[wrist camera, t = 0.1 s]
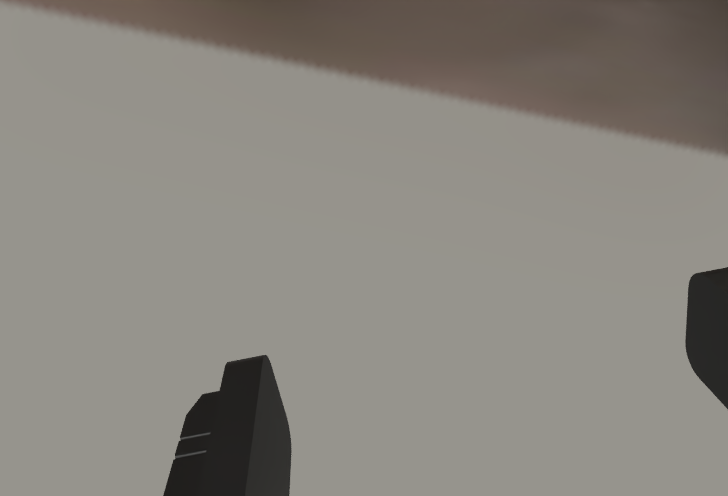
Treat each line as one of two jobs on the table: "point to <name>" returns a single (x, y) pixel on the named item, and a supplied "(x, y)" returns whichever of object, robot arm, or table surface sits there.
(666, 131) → the table surface
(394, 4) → the table surface
